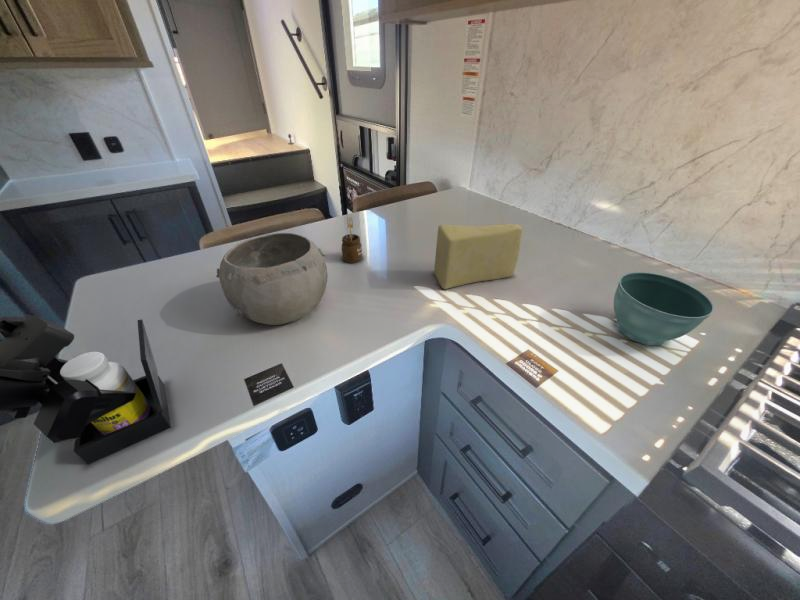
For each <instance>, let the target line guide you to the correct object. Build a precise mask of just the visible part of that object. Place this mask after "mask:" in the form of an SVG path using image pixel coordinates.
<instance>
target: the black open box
mask: <svg viewBox="0 0 800 600" xmlns="http://www.w3.org/2000/svg"><path fill="white" fill-rule="evenodd" d="M132 380H133V381H134V382H135V384H136V385H137V386H138V388H139V389H140V391H141V392H142V393H143V395H144V396H145V398H146V399H147V400H148V402H149V404H150V408H151V409H150V413H149V415H148V417H147V418H144V419H142V420H140V421H137V422H135V423H133V424H130V425H128V426H126V427H123V428H121V429H118V430H116V431H114V432H111V433H109V434H107V435H103V434H102V433H101V432H100V431H99V430H98V429H97V428H96V427H95V426H94V425H93V424H92V423H89V424H88V425H86V426H85V428H84V430H83V431H82V432H81V435H80V437H79V438H78V439H76V440H74V445H73V447H74V448H73V452H74V453H75V454H76V456H78V457H79V458H80V459H81V460H82V461H83V462H85V463H86V464H87V465H88V466H89V465H91V464H93V463H95V462H97V461H100V460H102V459H105V458H106V457H108V456H110V455H113V454H115V453H117V452H120V451H122V450H124V449H126V448H129V447H131V446H133V445H135V444H138V443H140V442H142V441H144V440H146V439H148V438H150V437H153V436H155V435H157V434H159V433H162V432H164V431H166V430H169V429H170V428H171V420H170V419H171V418H170V414H169V413H170V411H169V407H168V399H167V393H166V387H165V386H166V385H165V384H164V382H163V380H162V379H161V377H160V375H158V380H159V387H160V395H161V403H162V410H163V412H160V413H158V412H157V409H156V406H155V403H154V400H153V397H152V393H151V390H150V387H149V384H148V381H147V378H146V375H143V376H140V377H138V378H135V379H132Z"/></svg>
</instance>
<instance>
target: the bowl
mask: <svg viewBox="0 0 800 600" xmlns="http://www.w3.org/2000/svg"><path fill="white" fill-rule="evenodd" d="M325 256H326V255H325V253H324V252H323V250H322V248H321V247H320V248H319V247H318V246H317V245H316V244H315V242H314V241H312V240H311V239H310V238H308V237H306V236H303V235H300V234H296V233H291V232H278V233H270V234H269V233H268V234H265V235H261V236H260V235H259V236H256V237H253V238H252V237H251V238H249V239H246V240H243V241H241V242H239V243H237V244H236V245H234V246H233V247H232V248H230V249H229V250H227V251H226V253H225V254H224V255H223V257H222V259H221V261H220V264H219V268H216V276H215V277H216V278H218V279H219V283H220V287H221V289H222V292H223V294H224V297H225V299H226V300H227V302H228V304H229V305H230V307H232V308H233V310H235V311H236V314H237V316H238V318H240V320H244V319H245V318H246V319H249V320H251V321H253V322H255V323H259V324H263V325H267V326H280V325H284V324H289V323H290V324H291V323H293V322H296V321H299V320H301V319H303V318H304V317H306V316H308V315H309V314H311V313H312V312H313V311H314V310H315V309H316V308H317V307H318V305H319V304H320V302H321V300H322V298H323V297H324V294H325V292H326V288H327V284H328V278H329V277H328V276H329V275H328V267H327V263H326V261H325V258H324V257H325Z"/></svg>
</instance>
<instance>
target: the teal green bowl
mask: <svg viewBox="0 0 800 600" xmlns="http://www.w3.org/2000/svg"><path fill="white" fill-rule="evenodd" d="M613 311H614V315H615V318H616V327H617V329H618V330H619V332H620V333H622V334H623V335H624V336H626V338H629V340H630V339H631V340H632V341H634V342H637V343H639V344H643V345H646V346H660V345H662V344H664V343H665V342H668V341H673V340H675V339H676V340H677V339H678V338H681V337H683V336H685V335H687V334H689V333H690V332H692V331H694V330H695V329H696V328H697V327H699V326H700V325H701V324H702V323H703V322H704V321H705V320H706V319H708V318H709V317H710V316H711V315H712V314H713V313H714V311H715V307H714V303H713V302H712V300H711V299H710V298H709V297H708V295H706V294H705V293H703V292H702V291H700V290H699V289H697V288H695V287H694V286H692V285H690V284H688V283H686V282H684V281H681V280H679V279H677V278H673V277H671V276H666V275H663V274H658V273H654V272H646V271H633V272H628V273H625V274H623V275H622V276H621V277H620V278H619V279H618V283H617V288H616V289H615V292H614V297H613Z"/></svg>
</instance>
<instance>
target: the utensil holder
mask: <svg viewBox="0 0 800 600" xmlns="http://www.w3.org/2000/svg"><path fill="white" fill-rule="evenodd" d="M346 223H347V227H346V229H348V230H349V233H347V234H345V235H343V236H342V238H341V255H342V260H343V261H344V262H346V263H349V264H355V263H359V262H361V260H362V259H363V248H362V247H363V246H362V242H361V237H360V236H359V235H358V234H355V233H354V229H353V228H354V221H353V216H347V217H346Z"/></svg>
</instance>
